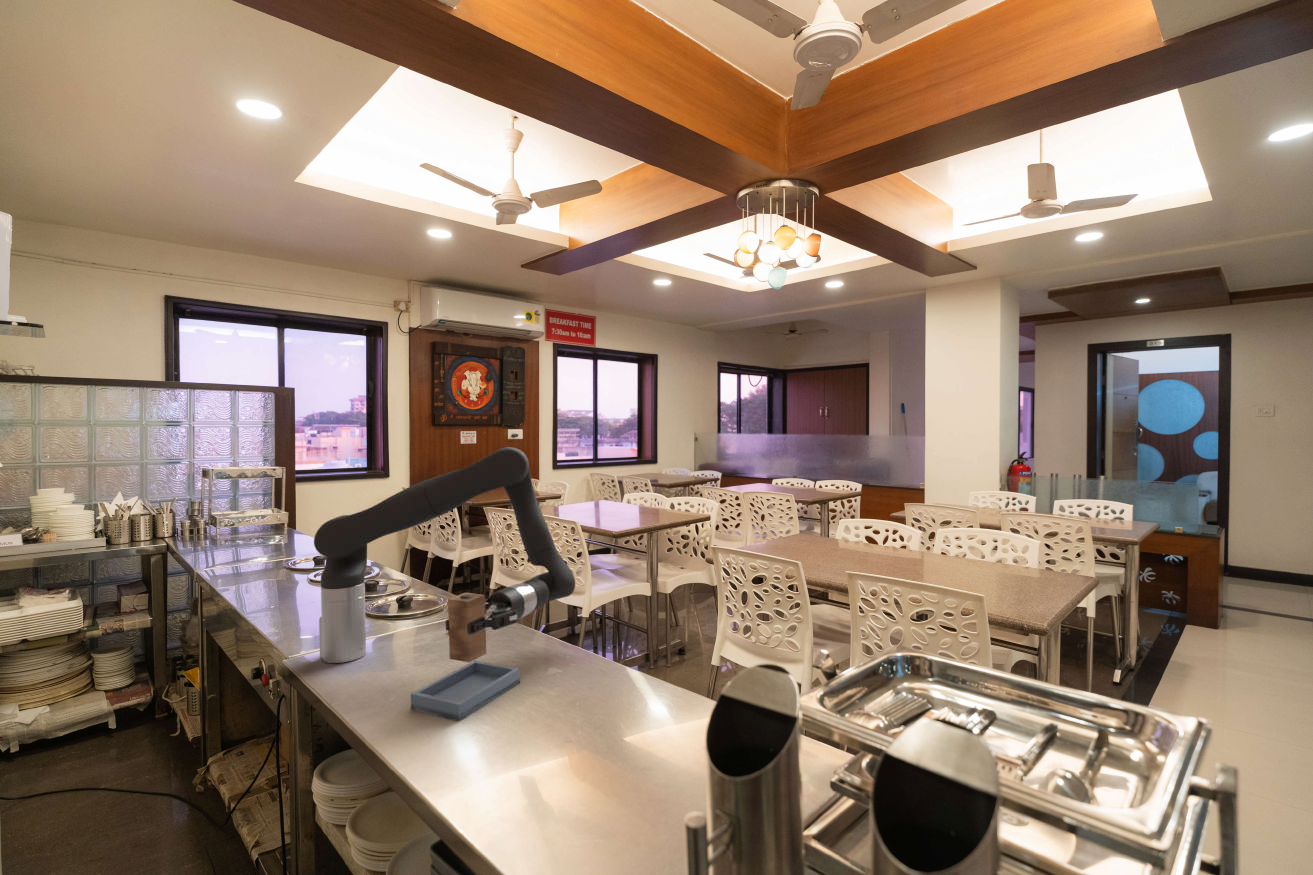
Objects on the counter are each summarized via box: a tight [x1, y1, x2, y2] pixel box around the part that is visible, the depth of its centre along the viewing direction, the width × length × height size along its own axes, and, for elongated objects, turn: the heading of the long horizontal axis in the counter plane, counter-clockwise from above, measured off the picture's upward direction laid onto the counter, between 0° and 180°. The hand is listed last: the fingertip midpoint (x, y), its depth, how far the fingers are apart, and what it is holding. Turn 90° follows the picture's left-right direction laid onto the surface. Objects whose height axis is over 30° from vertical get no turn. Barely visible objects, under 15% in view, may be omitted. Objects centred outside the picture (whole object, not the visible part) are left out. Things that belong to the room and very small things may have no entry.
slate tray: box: [410, 659, 521, 722], centre depth 122 cm, size 12×18×3 cm, turn 156°
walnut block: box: [447, 592, 487, 663], centre depth 122 cm, size 5×5×12 cm
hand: (458, 627), depth 119 cm, fingers closed on walnut block, 5 cm apart
